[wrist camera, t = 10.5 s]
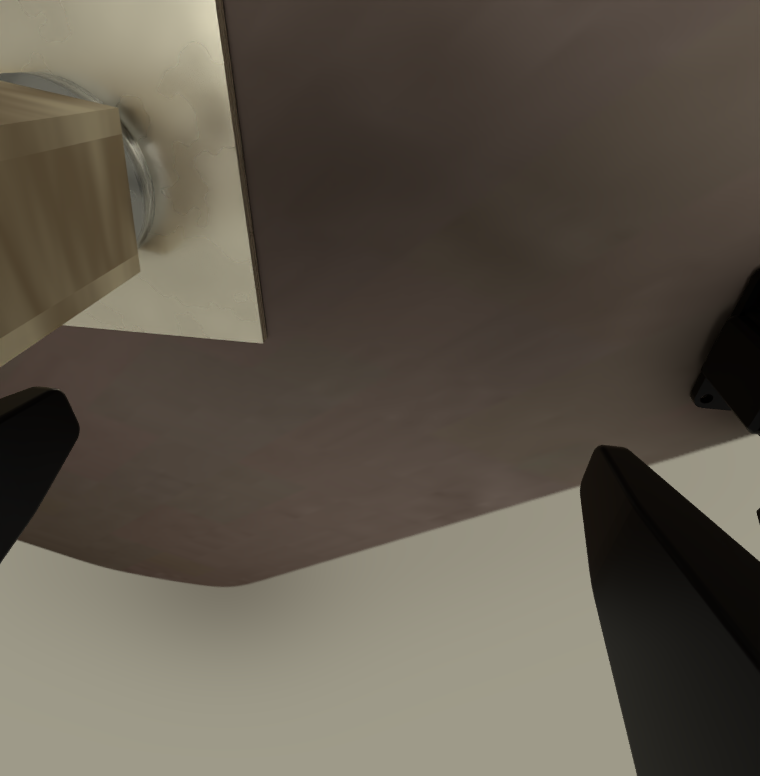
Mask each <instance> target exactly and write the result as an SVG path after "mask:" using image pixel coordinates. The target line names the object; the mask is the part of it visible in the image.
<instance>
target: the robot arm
mask: <svg viewBox="0 0 760 776" xmlns="http://www.w3.org/2000/svg"><path fill="white" fill-rule="evenodd" d="M706 394H709V395H708V396H707V397H704V398H701V397H702V396H704V395H706ZM690 397H691V399H692V401H693V402H694V404H695V405H696V406H698V407H701V408H710V409H720V410H731V411H733V412H734V413H735V415H736V416H737V417H738V418H739V420H740V421H741V422H742V423H743V425H744V426H745V427H746V429H747V430H748V431H749V432H750V433H752V434H758V435H759V436H760V269H759V270H758V271H756V272H755V274H754V275H753V276H752V278H751V280H750V282H749V284H748V286H747V287H746V289H745V291H744V293H743V295H742V297H741V299H740V301H739V303H738V305H737V306H736V308H735V310H734V312H733V314H732V316H731V318H729V319H728V320H727V321H726V323H725V325H724V327H723V329H722V331H721V333H720V335H719V337H718V338H717V340H716V342H715V344H714V346H713V348H712V350H711V352H710V354H709V356H708V358H707V359H706V361H705V363H704V365H703V367H702V373H701V375H700V377H699V379H698V380H697V382H696V384H695V386H694V388H693V390H692V392H691V395H690ZM79 431H80V427H79V423H78V421H77V419H76V416H75V414H74V412H73V410H72V408H71V406H70V404H69V401H68V399H67V397H66V395H65V394H64V393H63V392H62V391H61V390H59V389H56V388H48V387H31V388H28V389H26V390H23V391H20V392H17V393H15V394H12V395H9V396H6V397H4V398H1V399H0V563H1V562H2V560H3V559H4V557H5V556H6V555H7V553H8V552H9V550H10V549H11V547H12V546H13V544H14V543H15V542H16V540H17V539H18V537H19V536H20V535H21V533H22V532H23V530H24V529H25V527H26V526H27V525H28V523H29V522H30V520H31V519H32V517H33V516H34V514H35V512H36V511H37V509H38V507H39V506H40V504H41V502H42V501H43V499H44V497H45V495H46V494H47V492H48V490H49V488H50V487H51V485H52V483H53V481H54V480H55V478H56V476H57V474H58V472H59V471H60V469H61V467H62V465H63V464H64V462H65V460H66V458H67V457H68V455H69V453H70V451H71V449H72V448H73V446H74V444H75V442H76V441H77V439H78V436H79ZM580 498H581V506H582V514H583V522H584V531H585V538H586V547H587V555H588V563H589V571H590V578H591V585H592V589H593V594H594V599H595V603H596V607H597V611H598V616H599V620H600V624H601V628H602V632H603V636H604V641H605V645H606V649H607V653H608V657H609V661H610V665H611V670H612V673H613V678H614V682H615V686H616V690H617V694H618V699H619V703H620V707H621V711H622V715H623V719H624V723H625V728H626V731H627V736H628V740H629V744H630V748H631V752H632V757H633V760H634V764H635V769H636V773H637V776H760V561H758V560H757V559H756V558H755V557H754V556H752V555H751V554H750V553H749V552H748V551H747V550H745V549H744V548H743V547H742V546H741V545H740V544H738V543H737V542H736V541H735V540H734V539H732V538H731V537H730V536H729V535H728V534H727V533H726V532H724V531H723V530H722V529H721V528H720V527H718V526H717V525H716V524H715V523H714V522H713V521H712V520H710V519H709V518H708V517H707V516H706V515H705V514H703V513H702V512H701V511H700V510H699V509H698V508H696V507H695V506H694V505H693V504H692V503H690V502H689V501H688V500H687V499H686V498H685V497H684V496H682V495H681V494H680V493H679V492H678V491H677V490H675V489H674V488H673V487H672V486H671V485H669V484H668V483H667V482H666V481H665V480H664V479H663V478H661V477H660V476H659V475H658V474H657V473H655V472H654V471H653V470H652V469H651V468H650V467H648V466H647V465H646V464H645V463H644V462H643V461H641V460H640V459H639V458H638V457H637V456H636V455H634V454H633V453H632V452H631V451H630V450H628V449H627V448H624V447H617V446H608V445H600V446H598V447H596V449H595V450H594V452H593V454H592V456H591V459H590V461H589V464H588V466H587V469H586V471H585V474H584V476H583V478H582V481H581V486H580ZM757 516H758V519H759V523H760V508H759V509H758V510H757Z"/></svg>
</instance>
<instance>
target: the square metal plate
mask: <svg viewBox="0 0 760 776" xmlns="http://www.w3.org/2000/svg"><path fill="white" fill-rule="evenodd" d="M0 81H5V82H9V83H13V84H18V85H22V86H26V87H31V88H35V89H39V90H44V91H48V92H52V93H57V94H61V95H65V96H70V97H74V98H78V99H83V100H87V101H91V102H95V103H100V104H104V105H108V106H113V107H117V108H119V115H120V123H121V130H122V137H123V145H124V152H125V160H126V167H127V175H128V182H129V189H130V197H131V204H132V212H133V219H134V226H135V234H136V241H137V249H138V256H139V263H140V271H141V272H140V273H138V274H137V275H135V276H134V277H132V278H131V279H129V280H128V281H126V282H125V283H123V284H122V285H120V286H119V287H117V288H116V289H115V290H113V291H112V292H110V293H109V294H107V295H106V296H104V297H103V298H101V299H100V300H98V301H97V302H95V303H94V304H92V305H91V306H90V307H88V308H87V309H85V310H84V311H82V312H81V313H79V314H78V315H76V316H75V317H73V318H72V319H70V320H69V321H67V322H66V323H65V324H63V325H68V326H78V327H89V328H100V329H111V330H122V331H133V332H143V333H154V334H165V335H176V336H187V337H198V338H209V339H219V340H230V341H241V342H252V343H264V341H265V340H266V338H267V332H266V324H265V317H264V309H263V302H262V294H261V287H260V279H259V271H258V264H257V256H256V249H255V241H254V234H253V226H252V219H251V211H250V204H249V196H248V189H247V181H246V174H245V166H244V159H243V151H242V144H241V136H240V129H239V121H238V114H237V106H236V98H235V91H234V83H233V76H232V68H231V61H230V53H229V46H228V38H227V31H226V23H225V16H224V8H223V1H222V0H0Z"/></svg>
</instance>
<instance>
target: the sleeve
mask: <svg viewBox="0 0 760 776" xmlns="http://www.w3.org/2000/svg"><path fill="white" fill-rule="evenodd" d="M140 272H141V271H140V263H139V256H138V249H137V241H136V234H135V226H134V219H133V212H132V204H131V197H130V189H129V182H128V175H127V167H126V160H125V152H124V145H123V137H122V130H121V123H120V115H119V108H117V107H113V106H108V105H104V104H100V103H95V102H91V101H87V100H83V99H78V98H74V97H70V96H65V95H61V94H57V93H52V92H48V91H44V90H39V89H35V88H31V87H26V86H22V85H18V84H13V83H9V82H5V81H0V367H1V366H3V365H4V364H6V363H7V362H9V361H10V360H12V359H13V358H15V357H16V356H17V355H19V354H20V353H22V352H23V351H25V350H26V349H28V348H29V347H31V346H32V345H34V344H35V343H37V342H38V341H40V340H41V339H42V338H44V337H45V336H47V335H48V334H50V333H51V332H53V331H54V330H56V329H57V328H59V327H60V326H62V325H63V324H65V323H66V322H67V321H69V320H70V319H72V318H73V317H75V316H76V315H78V314H79V313H81V312H82V311H84V310H85V309H87V308H88V307H90V306H91V305H92V304H94V303H95V302H97V301H98V300H100V299H101V298H103V297H104V296H106V295H107V294H109V293H110V292H112V291H113V290H115V289H116V288H117V287H119V286H120V285H122V284H123V283H125V282H126V281H128V280H129V279H131V278H132V277H134V276H135V275H137V274H138V273H140Z"/></svg>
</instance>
